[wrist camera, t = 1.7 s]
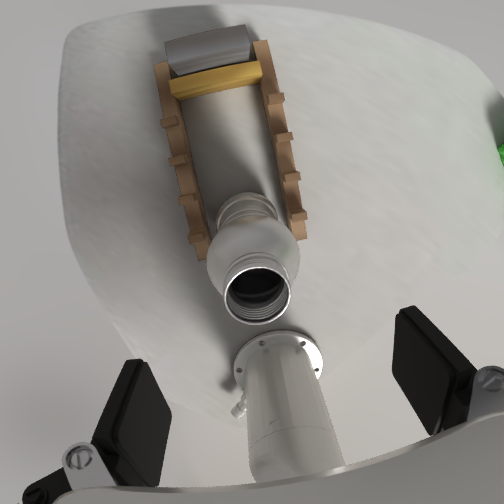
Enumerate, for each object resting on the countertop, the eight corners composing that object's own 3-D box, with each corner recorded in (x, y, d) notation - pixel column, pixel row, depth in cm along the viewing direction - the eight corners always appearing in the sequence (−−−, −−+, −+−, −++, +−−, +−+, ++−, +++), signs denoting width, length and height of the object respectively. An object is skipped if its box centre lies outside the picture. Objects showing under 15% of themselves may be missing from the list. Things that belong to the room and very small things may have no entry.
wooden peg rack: (301, 231, 36) (321, 256, 28) (201, 252, 36) (191, 283, 28) (264, 48, 29) (273, 17, 21) (160, 71, 29) (136, 48, 21)
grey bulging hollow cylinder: (205, 213, 35) (169, 289, 16) (252, 177, 34) (272, 210, 15) (240, 256, 37) (244, 365, 18) (286, 221, 36) (339, 302, 17)
